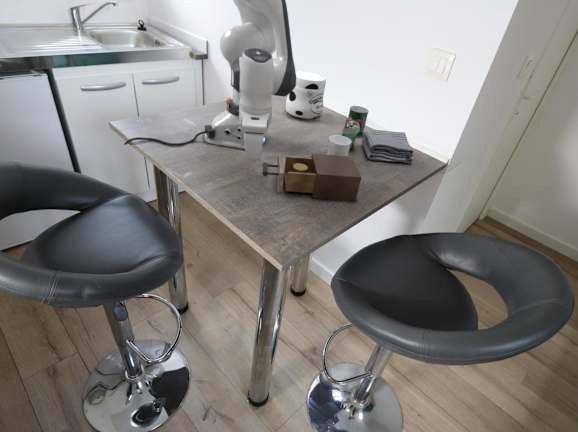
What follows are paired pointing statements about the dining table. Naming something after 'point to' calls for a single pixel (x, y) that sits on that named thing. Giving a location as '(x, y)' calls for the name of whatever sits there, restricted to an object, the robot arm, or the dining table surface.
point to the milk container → (306, 96)
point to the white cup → (338, 145)
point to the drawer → (293, 174)
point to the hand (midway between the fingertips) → (253, 160)
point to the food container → (351, 131)
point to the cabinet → (335, 177)
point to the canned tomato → (358, 117)
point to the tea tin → (299, 168)
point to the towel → (387, 146)
